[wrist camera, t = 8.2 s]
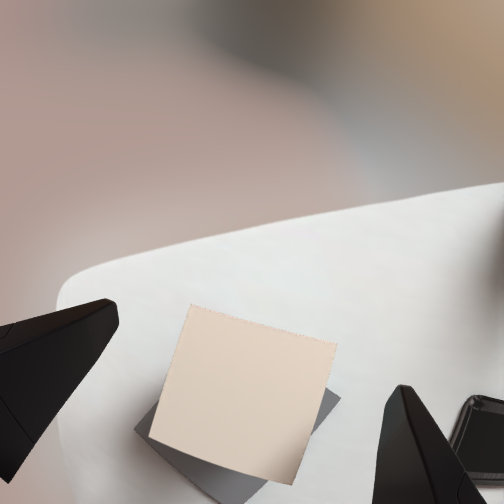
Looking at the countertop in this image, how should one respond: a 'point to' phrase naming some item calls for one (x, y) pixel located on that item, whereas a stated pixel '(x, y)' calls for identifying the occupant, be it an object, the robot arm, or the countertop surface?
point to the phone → (481, 440)
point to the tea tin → (242, 394)
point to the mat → (214, 476)
